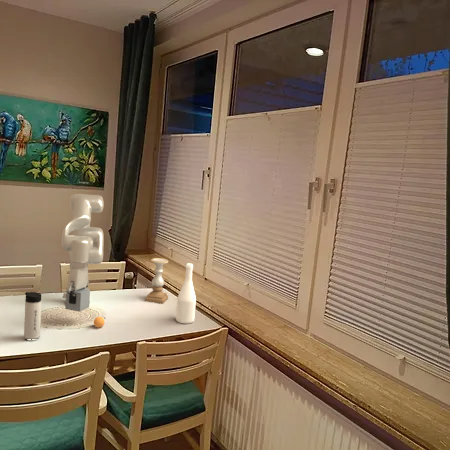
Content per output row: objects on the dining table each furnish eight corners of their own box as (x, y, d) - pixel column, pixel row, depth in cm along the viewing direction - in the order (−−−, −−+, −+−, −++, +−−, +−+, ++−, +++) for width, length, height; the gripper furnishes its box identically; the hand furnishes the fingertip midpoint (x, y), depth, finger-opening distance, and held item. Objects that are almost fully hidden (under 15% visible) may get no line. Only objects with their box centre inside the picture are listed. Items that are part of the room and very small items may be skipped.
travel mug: (26, 334, 188) (27, 290, 185) (41, 335, 188) (43, 291, 186) (20, 340, 182) (22, 294, 179) (36, 341, 182) (38, 295, 180)
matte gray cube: (65, 309, 202) (66, 290, 201) (74, 304, 210) (75, 287, 209) (79, 311, 201) (80, 293, 200) (89, 307, 208) (90, 289, 207)
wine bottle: (186, 316, 230) (191, 261, 226) (197, 322, 223) (203, 265, 219) (171, 319, 223) (176, 262, 219) (183, 325, 217) (188, 267, 213)
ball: (91, 328, 202) (91, 317, 202) (96, 324, 207) (97, 314, 206) (100, 329, 201) (101, 319, 200) (106, 326, 206) (106, 316, 205)
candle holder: (150, 296, 259) (153, 256, 255) (168, 298, 257) (171, 259, 254) (144, 301, 248) (147, 260, 245) (163, 303, 246) (166, 263, 243)
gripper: (82, 260, 212) (80, 295, 214) (61, 267, 195) (59, 304, 197) (96, 262, 210) (94, 297, 212) (75, 269, 194) (73, 307, 196)
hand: (77, 301), depth 205 cm, fingers closed on matte gray cube, 7 cm apart
